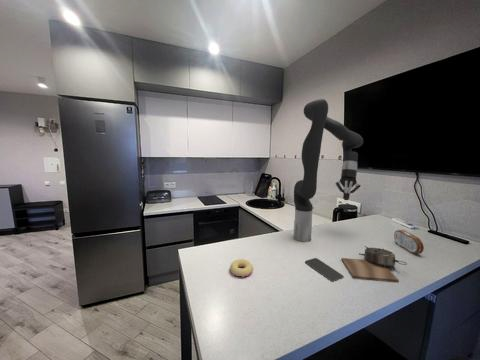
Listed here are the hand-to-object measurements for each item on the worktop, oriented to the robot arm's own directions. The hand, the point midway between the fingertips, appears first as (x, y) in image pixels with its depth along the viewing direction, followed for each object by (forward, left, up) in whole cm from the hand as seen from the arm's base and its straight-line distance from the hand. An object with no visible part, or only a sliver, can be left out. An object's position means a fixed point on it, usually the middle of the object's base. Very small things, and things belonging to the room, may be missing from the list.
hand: (345, 200), depth 108 cm
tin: (+27, -9, -22) cm, 36 cm away
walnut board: (-1, -31, -22) cm, 38 cm away
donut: (-53, -39, -23) cm, 70 cm away
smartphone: (-19, -33, -23) cm, 45 cm away
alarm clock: (+2, -20, -19) cm, 28 cm away
